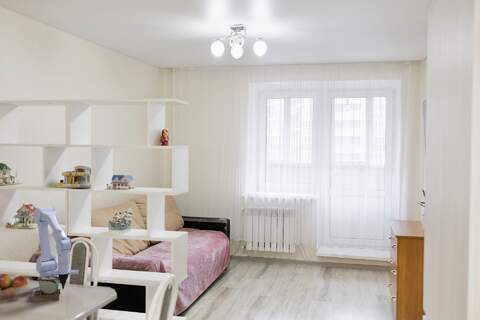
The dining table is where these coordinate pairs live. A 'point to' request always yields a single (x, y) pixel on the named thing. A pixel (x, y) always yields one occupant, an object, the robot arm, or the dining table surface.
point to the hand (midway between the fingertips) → (63, 288)
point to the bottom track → (43, 298)
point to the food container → (48, 285)
